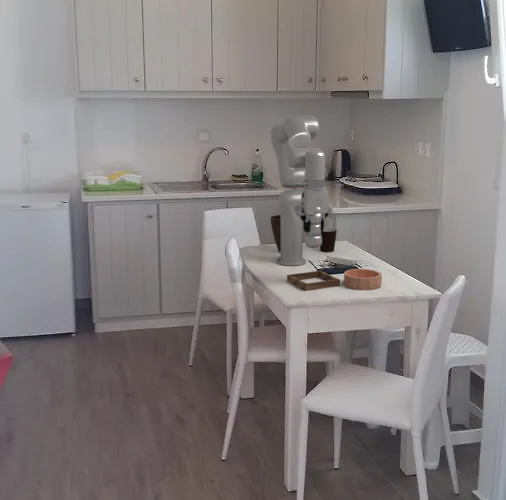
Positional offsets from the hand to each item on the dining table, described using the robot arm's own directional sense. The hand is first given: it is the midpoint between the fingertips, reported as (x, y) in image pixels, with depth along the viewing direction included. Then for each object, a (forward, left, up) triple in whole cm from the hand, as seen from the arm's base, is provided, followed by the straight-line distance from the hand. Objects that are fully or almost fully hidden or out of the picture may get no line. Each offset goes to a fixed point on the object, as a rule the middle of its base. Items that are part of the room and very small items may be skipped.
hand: (313, 230), depth 266 cm
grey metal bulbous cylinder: (0, 0, -7) cm, 7 cm away
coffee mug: (-47, +34, -21) cm, 61 cm away
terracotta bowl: (+10, +16, -21) cm, 28 cm away
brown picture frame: (0, 0, -21) cm, 21 cm away
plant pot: (-53, +16, -21) cm, 59 cm away
